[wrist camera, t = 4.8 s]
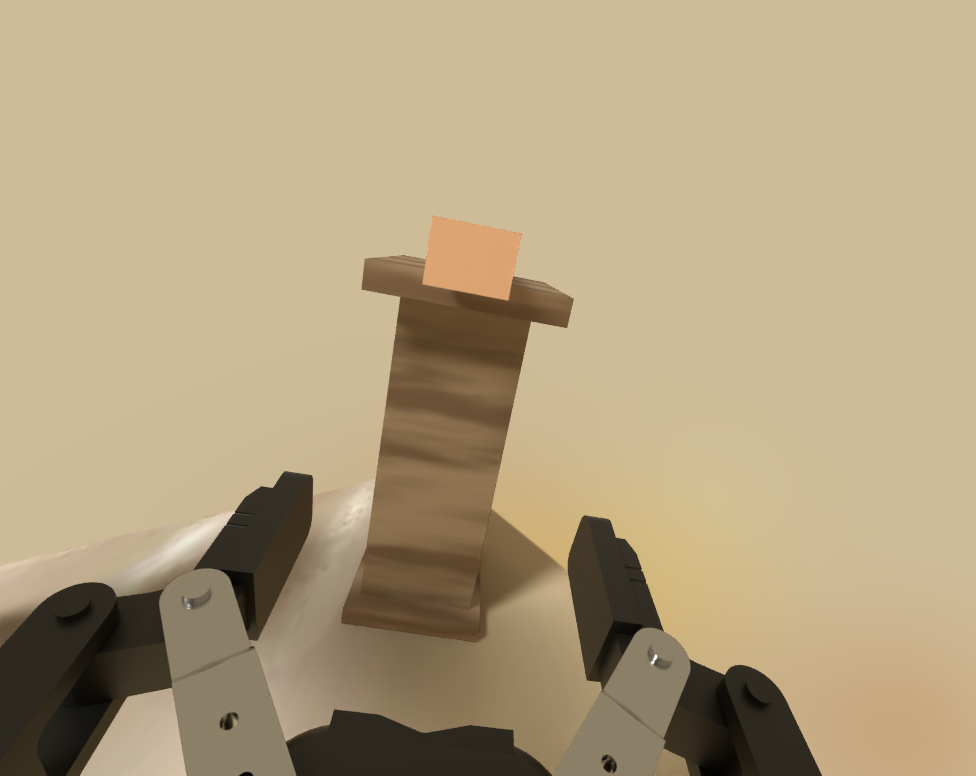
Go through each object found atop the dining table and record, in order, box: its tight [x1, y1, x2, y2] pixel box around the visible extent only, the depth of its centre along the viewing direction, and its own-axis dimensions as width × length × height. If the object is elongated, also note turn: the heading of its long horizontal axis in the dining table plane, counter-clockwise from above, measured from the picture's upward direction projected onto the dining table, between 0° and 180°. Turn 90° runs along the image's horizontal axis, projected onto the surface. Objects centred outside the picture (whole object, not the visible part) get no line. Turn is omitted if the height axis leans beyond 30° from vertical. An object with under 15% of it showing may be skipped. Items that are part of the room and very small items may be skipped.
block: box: [422, 216, 521, 300], centre depth 34 cm, size 26×4×3 cm, turn 1°
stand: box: [341, 255, 574, 642], centre depth 43 cm, size 16×14×31 cm
